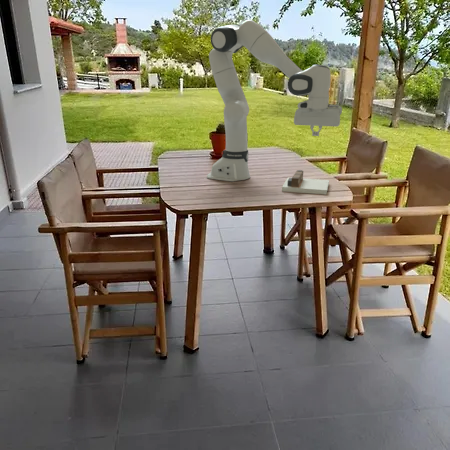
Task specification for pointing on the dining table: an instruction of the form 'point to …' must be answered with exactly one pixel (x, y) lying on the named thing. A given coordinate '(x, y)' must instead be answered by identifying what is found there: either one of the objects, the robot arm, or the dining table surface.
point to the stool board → (307, 186)
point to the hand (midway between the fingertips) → (315, 135)
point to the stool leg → (297, 178)
